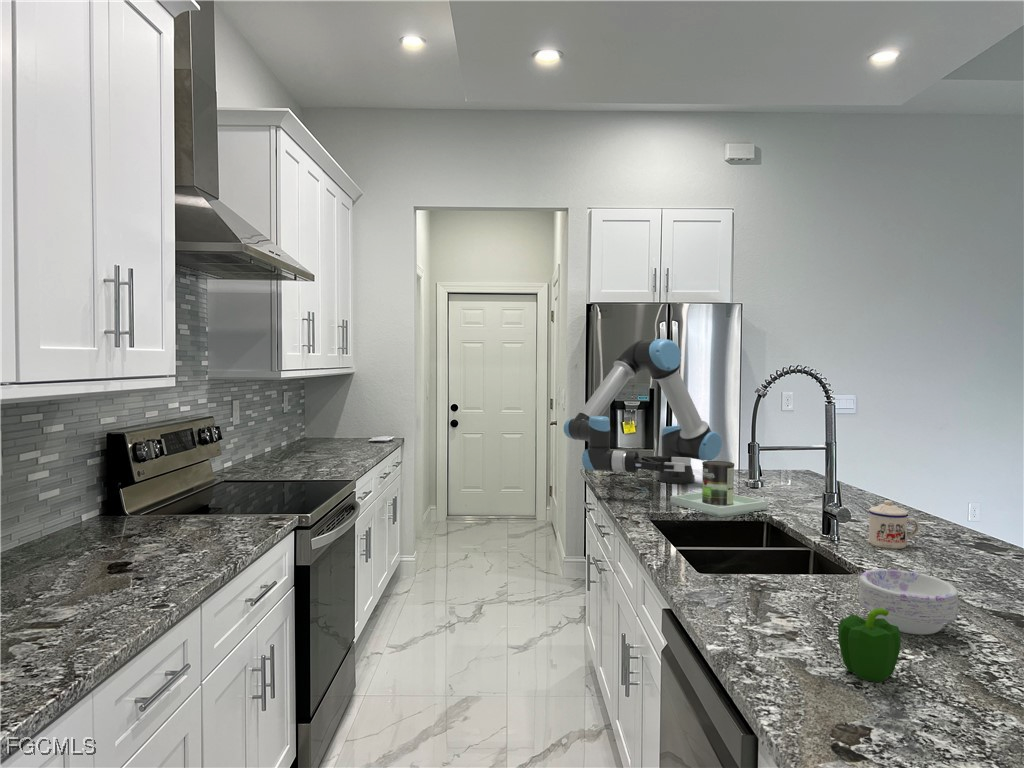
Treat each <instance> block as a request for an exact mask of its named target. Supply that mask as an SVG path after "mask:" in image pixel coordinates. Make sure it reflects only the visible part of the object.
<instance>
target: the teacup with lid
mask: <svg viewBox="0 0 1024 768" xmlns="http://www.w3.org/2000/svg"><path fill="white" fill-rule="evenodd" d="M893 503H894V502H893V501H892V500H888V499H886V500H884V501H883V503H880V504H878V505H877V506H871V507H870V508H869V509H868V514H869V515H868V517H869V519H868V521H869V522H868V524H869V525H868V527H869V528H868V543H869V544H870V545H872V546H874V547H879V548H884V549H891V550H892V549H893V550H894V549H895V550H899V549H905V548H906V547H907V545H908V542H907V541H908V540H907V539H908V538H912V537H915V536H916V535H917V534H918V533H919V531H920V523H919V521H918V520H916V519H915V518H912V517H909V513H908V511H907V510H904V509H902V508H900V507H898V506H897V505H896V504H893ZM908 522H912V523H914V524H915V528H914V530H913V531H912V532H910V533H908Z"/></svg>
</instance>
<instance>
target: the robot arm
mask: <svg viewBox="0 0 1024 768" xmlns="http://www.w3.org/2000/svg"><path fill="white" fill-rule="evenodd" d="M676 343H677V342H674V341H673V340H671V339H665V338H658V339H642V340H637V341H635V342H633V343H631V344H630V345H629V346H627V347H626V348H625V349H624V350H623V351H622V352H621V353H620V354H619V355H618V357H617V358H616V359H615V361H614V362H613V367H612V368H611V370H610V371H609V373H608V374H607V375H606V376H605V378H604V380H603V381H602V382H601V384H600V385H599V386H598V387H597V388H596V390H595V391H594V392H593V394H592V395H591V396H590V398H589V399H588V400H587V402H586V403H585V404H584V406H583V407H582V408H581V410H580V411H579V412H578V413H577V415H576V416H575V418H569V419H568V420H566V421H565V423H564V426H563V433H564V435H565V436H566V437H567V438H569V439H573V440H575V441H577V440H578V441H585V442H588V448H586V449H584V450H583V452H582V466H583V468H584V469H585V470H590V471H596V472H597V471H598V472H601V471H602V472H616V474H620V473H621V472H622V473H625V472H626V473H633V474H634V473H635V474H636V473H638V471H639V469H641V470H646V471H647V470H648V471H654V472H658V473H657V479H656V480H657V481H658V480H659V481H658V482H660V481H662V482H661V483H665V482H667V483H668V484H675V485H676V484H680V485H681V484H692V483H695V482H696V479H695V477H696V476H695V474H694V471H693V467H692V462H691V461H692V459H694V460H699V461H702V462H703V461H714V459H717V457H718V456H719V455H720V452H721V451H722V445H723V441H722V436H721V434H719V433H718V432H716V431H713V430H711V428H710V425H709V424H708V422H707V421H705V420H702V417H701V415H700V414H699V412H698V409H697V407H696V405H695V403H694V402H693V399H692V397H691V395H690V392H689V391H688V389H687V386H686V384H685V381H684V380H683V378H682V376H681V374H680V372H679V371H680V370H681V362H682V359H681V357H682V353H681V349H680V347H679V346H678V344H676ZM641 371H648V373H649V375H650V377H651V379H652V380H654V381H657V383H658V384H659V386H660V388H661V390H662V393H663V395H664V397H665V399H666V401H667V402H668V405H669V407H670V408H671V411H672V413H673V415H674V417H675V418H676V421H677V424H678V425H673V426H670V425H669V426H664V427H663V428H662V431H661V432H662V433H661V455H659V456H654V455H653V456H647V455H643V456H642V457H640V456H639V455H640V454H639V452H638V451H636V450H627V451H626V450H618V449H617V450H615V449H613V450H612V449H611V425H610V418H609V417H608V416H602V415H603V414H605V412H606V411H607V409H608V408H609V407H610V405H611V404H612V402H613V401H614V400H615V398H616V397H617V396H618V394H619V393H620V391H622V389H623V388H624V386H625V385H626V384H627V383H628V381H629V380H630V379H634V378H635V376H636V375H637V374H638V373H639V372H641ZM667 483H666V484H667Z"/></svg>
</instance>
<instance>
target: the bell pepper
mask: <svg viewBox="0 0 1024 768" xmlns="http://www.w3.org/2000/svg"><path fill="white" fill-rule="evenodd" d="M888 613H889V611H888V610H886V609H882V608H880V609H874V610H873V611H869V613H868V616H867V619H865V618H862V617H861V616H859V615H858V614H857V615H856V614H852V613H851V614H850V615H848V616H847V617H845V618H843V619H842V618H841V620H840V622H839V624H838V626H837V637H838V638H837V640H838V644H839V650H840V653H841V658H842V663H843V664H844V666H845V668H846V670H848V671H849V672H850V673H854V675H855V676H857V677H858V678H859V679H861V680H864V681H868V682H874V683H876V682H877V683H882V682H884V681H886V680H887V679H888V678H890V677H891V676H892V675H893V673H894V671H895V668H896V666H897V664H898V663H897V662H898V659H899V656H900V655H899V654H900V651H901V647H902V632H900V630H899V628H898V626H894V625H891V624H889V623H888V622H887V621H886V620H885V619H882V618H876V617H877V616H878V615H884V616H887V615H888Z"/></svg>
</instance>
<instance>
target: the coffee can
mask: <svg viewBox="0 0 1024 768" xmlns="http://www.w3.org/2000/svg"><path fill="white" fill-rule="evenodd" d="M701 463H702V491H701V492H702V503H705V504H709V505H713V506H718V507H725V506H732V505H734V504H733V495H734V494H735V493H734V488H735V486H734V485H735V479H734V478H735V463H734V462H731V461H727V460H725V461H724V460H710V461H707V460H705V461H702V462H701Z"/></svg>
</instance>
